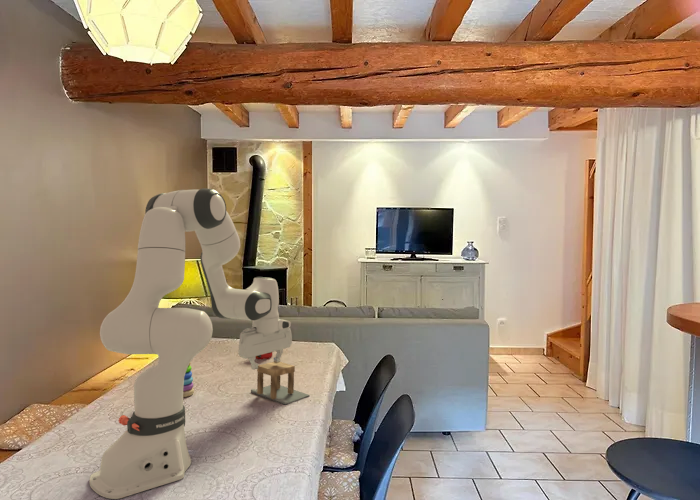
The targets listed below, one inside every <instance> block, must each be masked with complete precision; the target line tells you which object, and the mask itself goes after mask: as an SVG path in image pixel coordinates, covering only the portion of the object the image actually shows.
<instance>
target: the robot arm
mask: <svg viewBox="0 0 700 500" xmlns="http://www.w3.org/2000/svg"><path fill="white" fill-rule="evenodd" d="M187 232H195V235H196V238H197V240H198V242H199V244H200V248H201V250H202V251H201V253H200V264H201V268H202V272H203V276H204V278H205V282H206V285H207V288H208V292H209V296H210V303H211V305H210V306H211V309H212V311H213V313H214V315H215V316H216V317H217V318H219V319H225V320H226V319H227V320H228V319H229V320H230V319H233V320H240V321H250V322H252V323H251V325H252V327H250V328H249V327H248V328H245V329H243V330H242V331H241V332H240V334H239V342H238V343H239V344H238V356H239V357H240V358H243V359H244V360H245V359H248V361H249V363H250V365H251V369H252V370H254V371H255V370H257V369H258V365H259V363H257V362H256V360H257V359H256V356H258V355H262V354H266V353H270V352H272V353H273V352H276V354H275V357H273V362H274V363H279V362H281V358H282V355H283V353H284V350H285V349H289V348H291V346H292V344H293V334H292V330H291V326H292V322H291V321H289V320H286V319H282V318H280V312H279V310H278V309H279V304H280V299H279V298H280V295H279V286H278V282H277V280H276V279H275V278H272V277H263V276H256V277H254V278H253V281H252V283H251V285H249V286H248V287H247V288H246V289H241V288H234V287H231V286H230V285H229V284H228V283H227V279H226V276H225V272H224V268H223V265H226V264H227V263H229V262H230V261H232V260H233V259H234V258H235V257H236V256H237V255H238V253H239V251H240V249H241V240H240V236H239V233H238V231H237V229H236V226H235V224H234V221H233V220H232V218H231V216H230V214H229V212H228V211H227V204H226V201H225V199H224V197H223V195H222V194H220V193H219V192H218V191H217V190H216V189H213V188H203V187H202V188H200V189H179V190H174V191H170V192H169V191H168V192H165V193H164V192H162V193H158V194H156V195H153V196H152V197H150V199H149V200H148V201H147V204H146V207H145V213H144V216H143V219H142V222H141V227H140V230H139V236H138V244H137V255H136V264H135V265H136V266H135V274H134V278H133V283H132V286H131V288H130V291H129V292H128V294H127V296H126V297H125V299H124V300H123V301H122V302H121V303H120V304H119V305H118V306H117V307H116V308H115V309H113V310H111V311H110V312H109V313H108V314H106V316H105V317H104V319H103V320H102V322H101V324H100V329H99V336H100V337H99V338H100V341H101V343H102V345H103V346H104V348H105V349H106V350H107V351H109V352H112V353H113V352H115V353H118V354H125V355H157V356H158V361H157V364H156V365H153V366H151V367H149V368H147V369H144V371H143V372H141V373H140V374H139V375H138V376H137V377H136V378H135V381H134V384H133V403H134V409H133V410H134V411H133V412H132V415H131V416H130V417H128V416H127V415H126V414H124V415H120V417H118V419H117V420H118V423H119V424H121V425H122V426H125V427H126V430H125V431H124V432H123V433H122V435H120V437H118V438H117V439H116V440H115V441H114V442H113V443H112V444H111V445H110V446H109V447H108V448H107V449H106V450H105V451H104V452H103V455H102V456H101V461H100V467H99V470H97V471H96V472H93V473H92V474H91V475H90V476H89V482H88V483H89V484H88V485H89V487H90V488H91V489H92V490H93V492H94V493H96V494H97V495H99V496H101V497H103V498H105V499H111V500H120V499H122V498H126V497H129V496H132V495H135V494H138V493H142V492H145V491H148V490H150V489H155V488H157V487H160V486H163V485H167V484H171V483H174V482H176V481H181V480H182V479H184V477H185V475H186V471H187V470H188V469H189V468H190V466H191V464H192V458H191V455H190V453H189V449H188V445H187V438H186V433H185V427H186V406H185V405H184V397H183V385H184V376H185V373H186V370H187V367H188V365H189V364H190V365H191V363H190V362H192V360H193V359H194V358H196V356H197V355H198V354H199V353H200V352H202V351H203V350H204V349H205V348H206V347H208V345H209V343H210V342H211V340H212V336H213V330H214V329H213V327H214V326H213V322H212V320H211V318H210V316H209V315H208V314H207V312H205V311H204V310H199V309H196V308H189V307H159V306H160V302H161V300H162V299H163V298H164V297H165V296H166V295H168V294H170V293H172V292H174V291H177V290H178V288H180V287H181V285H183V282H184V280H185V268H186V267H185V266H186V233H187Z"/></svg>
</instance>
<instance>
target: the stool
mask: <svg viewBox="0 0 700 500" xmlns="http://www.w3.org/2000/svg"><path fill="white" fill-rule="evenodd" d="M295 366H296V365H292V364H289V363H285V362H283V361H280V362H279V363H274V361H270V362H267V363H262V364H258V369H256V372H257V379H256V380H257V381H256V383H257V387H256V389H257V393H258V394H263V387H264V375H267V376H270V385H271V394H270V398H271V399H276V395H277V389H280V385H281V376H283V375H287V388H288V393H289V394H292V393H294V390H295V387H294V386H295V385H294V384H295V371H296V367H295Z"/></svg>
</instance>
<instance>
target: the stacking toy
mask: <svg viewBox="0 0 700 500" xmlns="http://www.w3.org/2000/svg"><path fill="white" fill-rule="evenodd" d="M191 362H192V361H191ZM191 362H190V364H189V365H188V367H187V370H186V373H185V376H184V385H183V398H187V397H190V396H192V395H193V394H195V389H194V377H193V372H192V366H191V364H192V363H191Z"/></svg>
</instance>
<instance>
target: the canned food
mask: <svg viewBox="0 0 700 500" xmlns="http://www.w3.org/2000/svg"><path fill="white" fill-rule="evenodd" d="M272 357H273V352H270V353H266V354H262V355H258V356H256V359H255V360H269V359H271V358H272Z"/></svg>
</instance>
